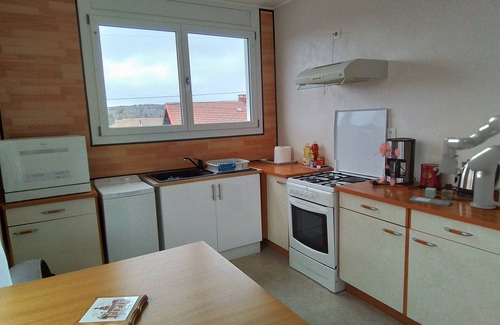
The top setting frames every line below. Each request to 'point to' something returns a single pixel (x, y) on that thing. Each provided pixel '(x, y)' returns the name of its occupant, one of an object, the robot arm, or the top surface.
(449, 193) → the walnut cube
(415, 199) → the baseplate
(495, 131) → the robot arm
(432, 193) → the green cube
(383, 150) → the pink flower sprig
